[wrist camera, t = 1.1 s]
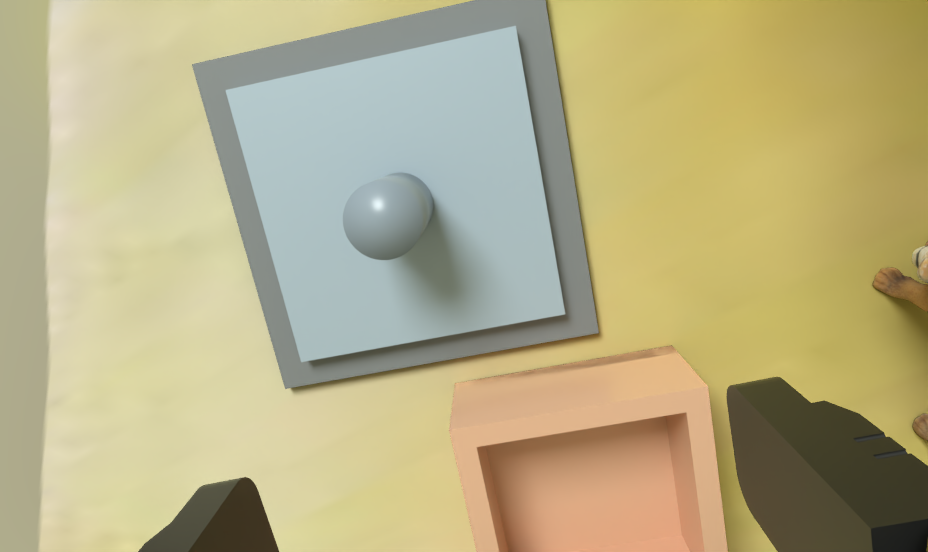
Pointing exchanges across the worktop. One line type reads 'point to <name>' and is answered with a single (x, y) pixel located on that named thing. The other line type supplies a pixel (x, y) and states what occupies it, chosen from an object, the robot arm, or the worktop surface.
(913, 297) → the lion figurine
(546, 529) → the dish
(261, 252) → the mat
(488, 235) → the lid
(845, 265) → the worktop surface
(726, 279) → the worktop surface
